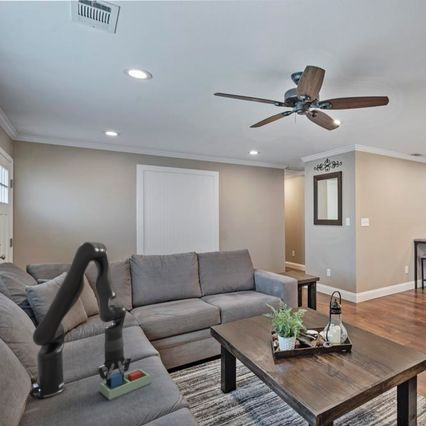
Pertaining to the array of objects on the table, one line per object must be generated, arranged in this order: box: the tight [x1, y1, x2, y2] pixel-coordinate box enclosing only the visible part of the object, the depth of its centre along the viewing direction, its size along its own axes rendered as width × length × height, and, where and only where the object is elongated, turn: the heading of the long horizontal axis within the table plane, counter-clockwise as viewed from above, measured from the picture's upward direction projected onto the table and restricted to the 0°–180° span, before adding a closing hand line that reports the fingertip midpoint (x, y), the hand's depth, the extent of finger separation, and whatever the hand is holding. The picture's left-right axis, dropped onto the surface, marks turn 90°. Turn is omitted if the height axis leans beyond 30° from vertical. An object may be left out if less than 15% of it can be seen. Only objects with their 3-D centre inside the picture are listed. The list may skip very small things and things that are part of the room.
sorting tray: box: [99, 368, 151, 401], centre depth 156 cm, size 18×12×4 cm, turn 141°
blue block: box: [110, 371, 122, 387], centre depth 152 cm, size 4×4×4 cm
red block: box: [128, 369, 141, 382], centre depth 159 cm, size 4×4×4 cm
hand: (115, 383), depth 152 cm, fingers closed on blue block, 4 cm apart
